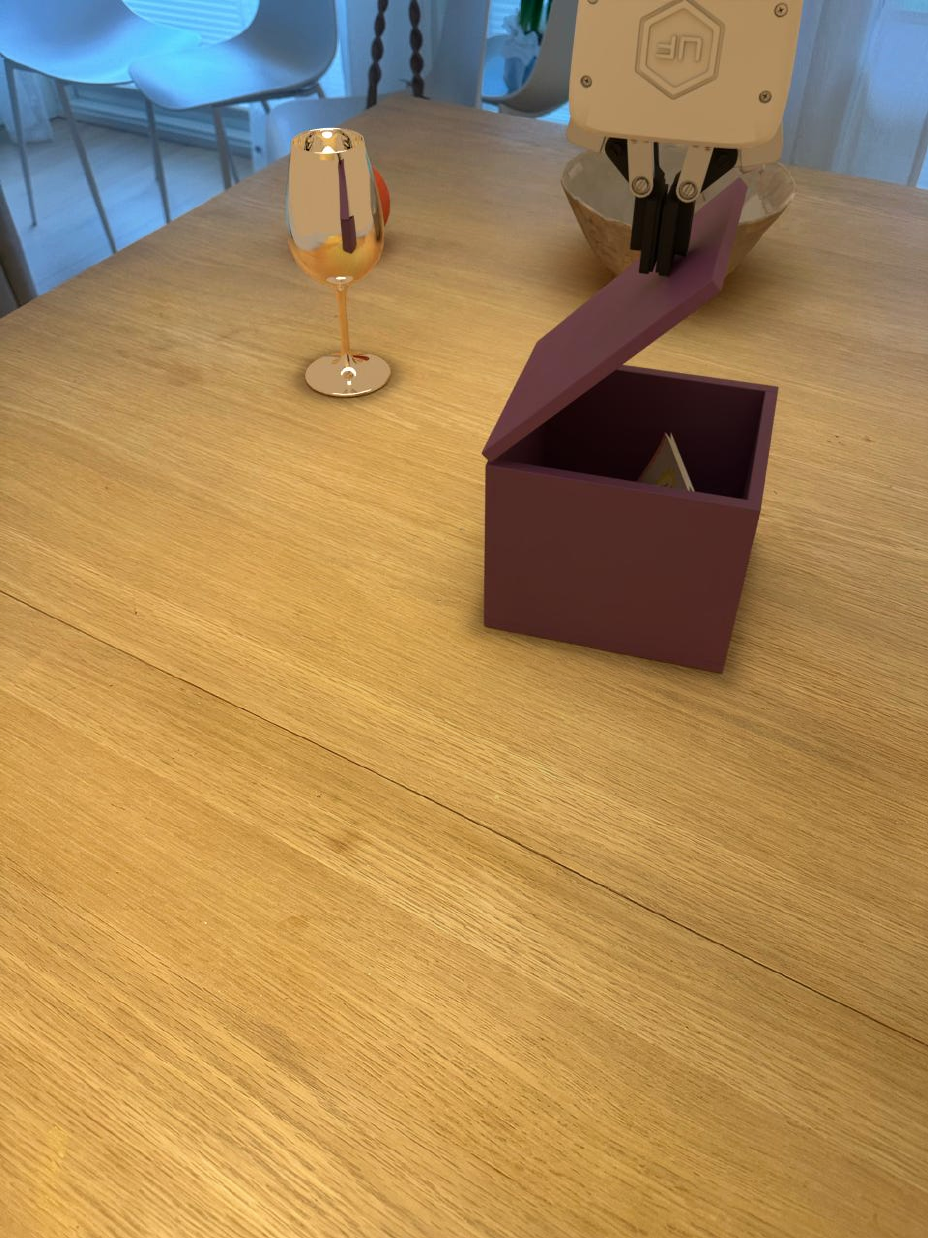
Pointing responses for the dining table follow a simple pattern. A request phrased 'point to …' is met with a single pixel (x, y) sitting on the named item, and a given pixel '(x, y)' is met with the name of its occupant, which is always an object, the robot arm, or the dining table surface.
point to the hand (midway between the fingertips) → (657, 263)
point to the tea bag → (666, 467)
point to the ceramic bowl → (611, 204)
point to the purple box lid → (620, 323)
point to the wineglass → (336, 241)
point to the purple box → (630, 518)
